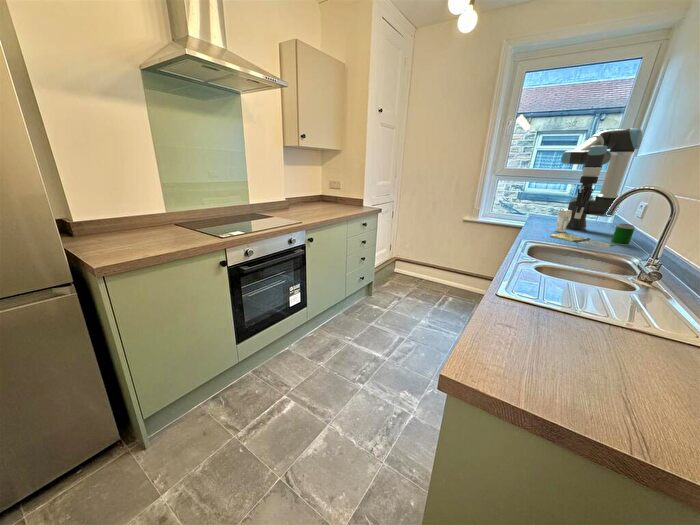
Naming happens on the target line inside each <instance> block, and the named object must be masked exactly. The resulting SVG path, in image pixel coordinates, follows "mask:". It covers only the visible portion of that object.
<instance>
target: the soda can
mask: <svg viewBox="0 0 700 525" xmlns="http://www.w3.org/2000/svg"><path fill="white" fill-rule="evenodd" d="M634 231H635V226H634V225H633V224H628V223H619V224H617V225H616V227H615V229H614V233H613V235H612V238H611V241H610V244H613V245H617V246H618V245H619V246H629V244H630V242H631V240H632V236H633V234H634Z"/></svg>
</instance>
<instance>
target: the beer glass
mask: <svg viewBox="0 0 700 525" xmlns="http://www.w3.org/2000/svg"><path fill="white" fill-rule="evenodd" d="M571 216H572V210H568V209H562V208H561V209H559V212H558V215H557V217H556V218H557V219H556V220H557V221H556V227H555V230H554V232H555V231H556V232H560V233H567V232H566V230H567V228H566V227H567V225H568V223H569V221H570V219H571Z"/></svg>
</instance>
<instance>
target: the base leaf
mask: <svg viewBox="0 0 700 525" xmlns="http://www.w3.org/2000/svg"><path fill="white" fill-rule="evenodd" d="M580 240H582V242H578V244H581V245H587V246H591V247H596V248H600V249H607V248H611V247H616V246H618V244H614V243H607V242H604V241H603V242H602V241H598V240H592V239H590V240H588V241H586V240H585V239H580Z"/></svg>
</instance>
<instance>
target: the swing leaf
mask: <svg viewBox="0 0 700 525" xmlns="http://www.w3.org/2000/svg"><path fill="white" fill-rule="evenodd" d="M549 237H550V238H553V239H557V240H558V239H559V240H564V241H568V242H573V243H577V244H579V242H582V240H580V239H585V240H586V241H589V240H591V238H590V237H582V236H578V235H574V234H571V233H567V232H560V233H554V234H553V233H551V234H549Z"/></svg>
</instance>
